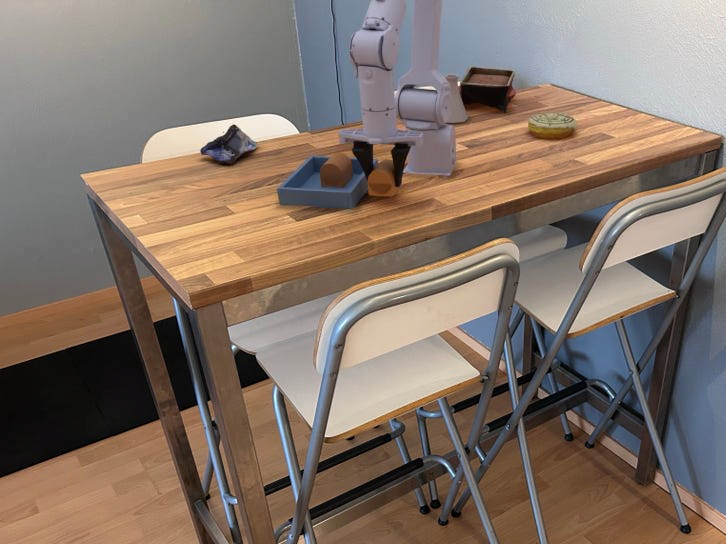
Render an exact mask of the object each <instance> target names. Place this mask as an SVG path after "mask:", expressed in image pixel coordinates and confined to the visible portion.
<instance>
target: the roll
mask: <svg viewBox="0 0 726 544" xmlns="http://www.w3.org/2000/svg"><path fill="white" fill-rule="evenodd" d="M329 157H330V158H329V159H328V161H327V162H326V163H325V164H324V165H323V166H322V167H321V169H320V180H321V187H338V188H344V187H345V186H346V185H347V183H348V182H349V181H350V180H351V178H352V177H353V169H352V162H351V160H350V158H351V157H349V156H348V155H347V154H345V153H343V152H335V153H333V154H332V155H331V156H329Z"/></svg>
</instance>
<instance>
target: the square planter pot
mask: <svg viewBox="0 0 726 544" xmlns="http://www.w3.org/2000/svg"><path fill="white" fill-rule="evenodd" d="M515 74H516V71H515V70H513V69H506V68H499V67H498V68H497V67H487V66H469V67H468V68H467V70H466V72H465V73H464V75H463V77H462V78H461V80H460V81H459V84H458V88H459V93H460V96H461V99H462V102H463V105H464V107H466V106H468V105H471V104H475V105H476V104H477V105H481V106H484V107H488V108H493V109H496V110H499V111H500V112H503V113H507V110H508V109H507V108H508V106H509V104H510V102H511V100H513V99H514V97H516V95H517V91H516V90H515V88H514V87H513V82H514V78H515Z"/></svg>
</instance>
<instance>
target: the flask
mask: <svg viewBox="0 0 726 544" xmlns="http://www.w3.org/2000/svg"><path fill="white" fill-rule="evenodd" d="M444 78H445V79H446V80H447V81H448V82H449V84H450V85H451V86H450V87H451V100H452V111H451V116H450V118H449V120H448V121H447V123H448V124H457V123H465V122H466V121H467V120H469V117H468V113H467V110H466V108H465V106H464V105H463V102H462V99H461V96H460V93H459V88H458V86H459V84H458V83H459V78H460V75H459V74H457V73H447V74H445V75H444ZM447 123H446V124H447Z"/></svg>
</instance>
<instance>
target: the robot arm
mask: <svg viewBox="0 0 726 544" xmlns="http://www.w3.org/2000/svg"><path fill="white" fill-rule="evenodd" d="M413 5H414V6H413V24H412V43H411V61H410V70H408V71H406V73H405V74H403V75H402V76H401V77H400V78H399V79H398V82H397V90H396V92H395V82H394V81H395V80H394V68H395V66H396V64H397V62H398V60H399V59H398V58H399V44H400V40H401V39H400V36H399V33H400V29H401V26H402V23H403V20H404V17H405V14H406V11H407V8H408V3H407V1H406V0H370V2H369V5H368V8H367V11H366V14H365V17H364V20H363V23H362V26H361V28H359V29H358V30H356V32H354V33H352V34H351V37H350V40H349V46H348V47H349V48H348V49H349V50H348V58H349V61H350V63H351V65H352V66H353V72H354V76H355V78H356V79H358V87H359V98H360V108H361V119H362V128H351V129H345V128H343V129H341V130H340V131H339V132H338V134H337V135H338V141H339V144H341V145H346V144H353V145H352V148H351V152H352V155H353V156H354V158H357V160H358V162H359V163H360V165H361V167H362V169H363V171H364V174H365V176H366V179H367V182H368V177H369V175H370V174H371V173H372V171H373V170H374V165H373V159H374V145H384V146H385V145H386V146H394V147H392V148H391V150H390V155H391V160H393V165H394V180H395V186H396V187H399V188H400V187H401V186H402V183H403V175H404V174H419V175H421V174H422V175H438V176H446V177H447V178H448V177H450V176H451V175H452V173H453V171H454V170H455V168H456V166H457V163H458V161H457V146H456V145H457V143H456V139H457V138H456V129H455V126H454V125H449V124H447V121H448V120H449V118H450V116H451V111H452V100H451V87H450V86H451V85H450V84H449V82H448V81H447V80H446V78H445V76H443V75H442V74H441V73H440V71H439V70H438V68H439V65H438V64H439V55H440V54H439V52H440V51H439V50H440V37H441V22H442V6H443V0H414V3H413ZM418 86H422V87H431V89H429V88H419V87H418ZM432 88H434V89H432ZM397 119H398V120H400V121H401V125H402V126H404V127H405V130H403V129H398V123H397ZM406 161H407V165H406ZM405 165H406V166H405Z"/></svg>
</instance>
